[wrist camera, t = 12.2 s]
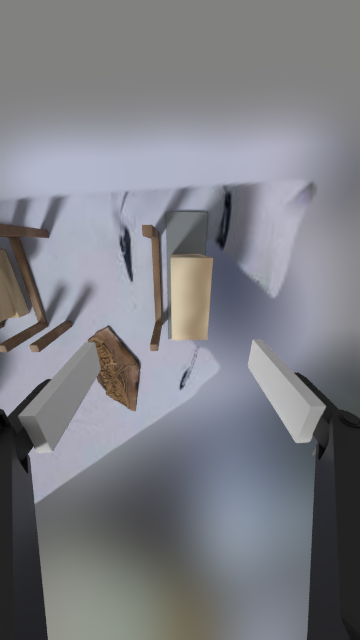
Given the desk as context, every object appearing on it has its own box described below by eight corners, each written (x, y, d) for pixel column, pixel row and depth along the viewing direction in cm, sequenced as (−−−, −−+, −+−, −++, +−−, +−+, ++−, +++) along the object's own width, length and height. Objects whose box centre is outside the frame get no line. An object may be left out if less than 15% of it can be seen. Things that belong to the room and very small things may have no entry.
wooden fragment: (81, 327, 37) (78, 329, 36) (131, 323, 37) (130, 325, 36) (110, 411, 47) (108, 414, 46) (149, 408, 47) (149, 411, 46)
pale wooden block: (172, 311, 35) (171, 340, 24) (171, 253, 31) (170, 257, 20) (196, 310, 35) (207, 339, 24) (199, 253, 31) (213, 257, 20)
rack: (-2, 326, 36) (-60, 352, 27) (-46, 228, 29) (-144, 220, 20) (161, 326, 37) (157, 350, 28) (158, 231, 30) (151, 225, 21)
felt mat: (168, 337, 38) (168, 338, 38) (166, 212, 29) (166, 211, 28) (199, 337, 38) (200, 338, 38) (207, 212, 29) (208, 212, 29)
